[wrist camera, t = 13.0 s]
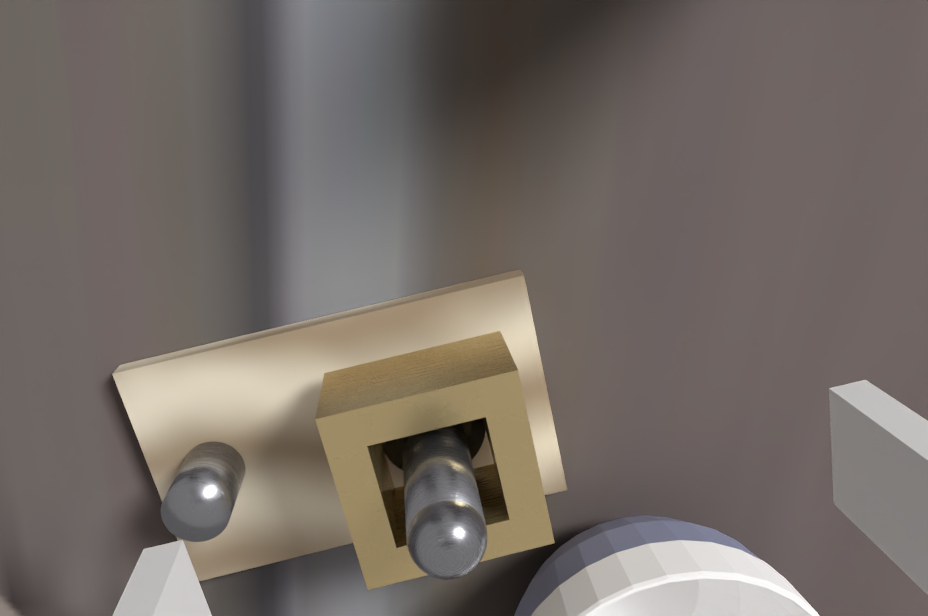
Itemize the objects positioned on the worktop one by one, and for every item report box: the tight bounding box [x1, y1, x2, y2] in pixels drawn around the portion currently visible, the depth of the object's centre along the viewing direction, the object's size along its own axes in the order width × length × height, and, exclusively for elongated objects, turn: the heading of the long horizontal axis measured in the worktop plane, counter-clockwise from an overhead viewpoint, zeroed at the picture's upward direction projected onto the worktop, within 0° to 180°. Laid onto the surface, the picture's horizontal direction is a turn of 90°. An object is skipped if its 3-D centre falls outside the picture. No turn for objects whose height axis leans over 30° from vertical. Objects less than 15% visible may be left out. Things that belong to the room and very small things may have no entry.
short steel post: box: [161, 441, 246, 542], centre depth 36 cm, size 3×3×4 cm
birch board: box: [112, 269, 567, 581], centre depth 39 cm, size 12×20×1 cm, turn 103°
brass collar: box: [315, 331, 555, 590], centre depth 34 cm, size 8×8×5 cm
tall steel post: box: [382, 418, 488, 580], centre depth 32 cm, size 5×5×12 cm
